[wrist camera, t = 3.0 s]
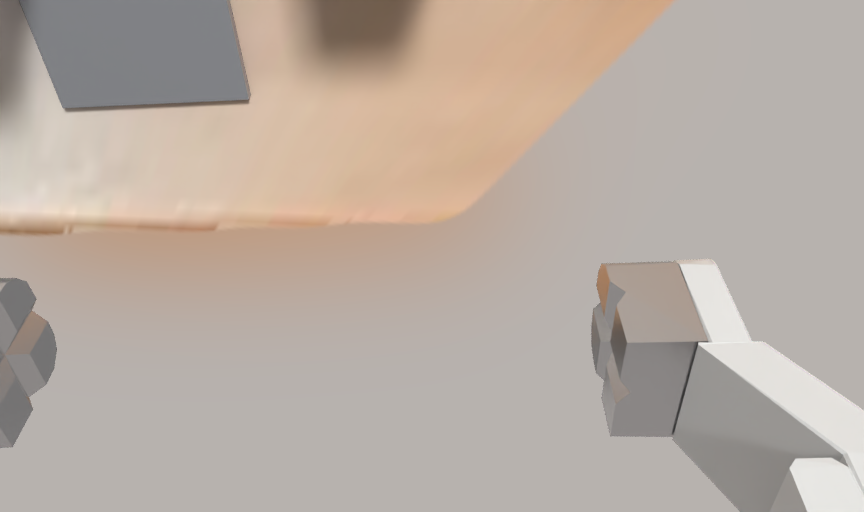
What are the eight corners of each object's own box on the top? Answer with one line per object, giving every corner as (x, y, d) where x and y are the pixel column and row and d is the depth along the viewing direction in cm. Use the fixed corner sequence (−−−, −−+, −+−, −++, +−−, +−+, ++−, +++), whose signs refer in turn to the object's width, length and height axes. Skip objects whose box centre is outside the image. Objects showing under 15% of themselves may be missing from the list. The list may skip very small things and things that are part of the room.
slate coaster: (66, 103, 44) (62, 108, 44) (-13, -95, 37) (-19, -91, 37) (250, 94, 44) (248, 99, 44) (205, -106, 37) (203, -103, 37)
